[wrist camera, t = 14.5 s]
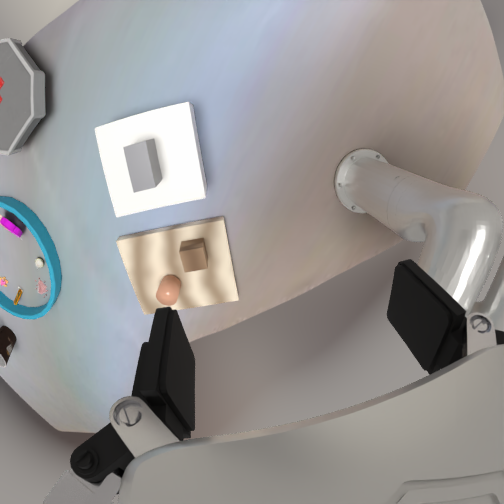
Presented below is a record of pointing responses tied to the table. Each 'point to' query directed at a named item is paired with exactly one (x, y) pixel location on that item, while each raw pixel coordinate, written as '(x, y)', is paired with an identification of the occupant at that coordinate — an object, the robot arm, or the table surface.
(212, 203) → the table surface
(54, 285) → the blue ring
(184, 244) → the walnut block
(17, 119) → the first aid kit
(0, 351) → the coffee mug
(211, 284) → the birch board
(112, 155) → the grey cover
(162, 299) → the terracotta cylinder
